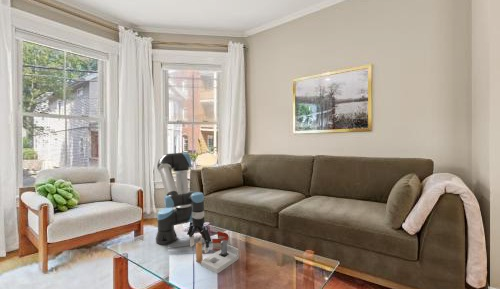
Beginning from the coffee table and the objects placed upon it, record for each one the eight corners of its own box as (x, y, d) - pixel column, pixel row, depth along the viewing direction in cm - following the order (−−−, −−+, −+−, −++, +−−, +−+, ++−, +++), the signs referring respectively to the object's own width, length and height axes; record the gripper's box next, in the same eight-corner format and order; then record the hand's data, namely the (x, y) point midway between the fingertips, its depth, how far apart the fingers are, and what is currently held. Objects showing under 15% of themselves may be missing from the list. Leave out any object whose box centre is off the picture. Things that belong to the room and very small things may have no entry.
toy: (226, 251, 182) (226, 240, 181) (211, 250, 184) (211, 239, 183) (231, 243, 194) (230, 232, 193) (217, 241, 196) (217, 231, 195)
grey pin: (219, 258, 173) (219, 241, 172) (223, 256, 176) (223, 239, 175) (224, 260, 171) (224, 243, 169) (228, 258, 174) (228, 240, 173)
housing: (201, 265, 166) (201, 255, 165) (223, 252, 182) (223, 242, 181) (217, 273, 157) (217, 262, 156) (238, 258, 173) (238, 248, 172)
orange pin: (195, 261, 171) (194, 243, 169) (199, 258, 174) (199, 241, 172) (199, 263, 168) (198, 245, 167) (203, 260, 172) (203, 242, 170)
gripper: (180, 214, 172) (182, 245, 174) (207, 223, 157) (208, 257, 159) (190, 211, 178) (191, 241, 180) (216, 219, 163) (217, 252, 165)
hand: (199, 249), depth 170 cm, fingers open, 13 cm apart
